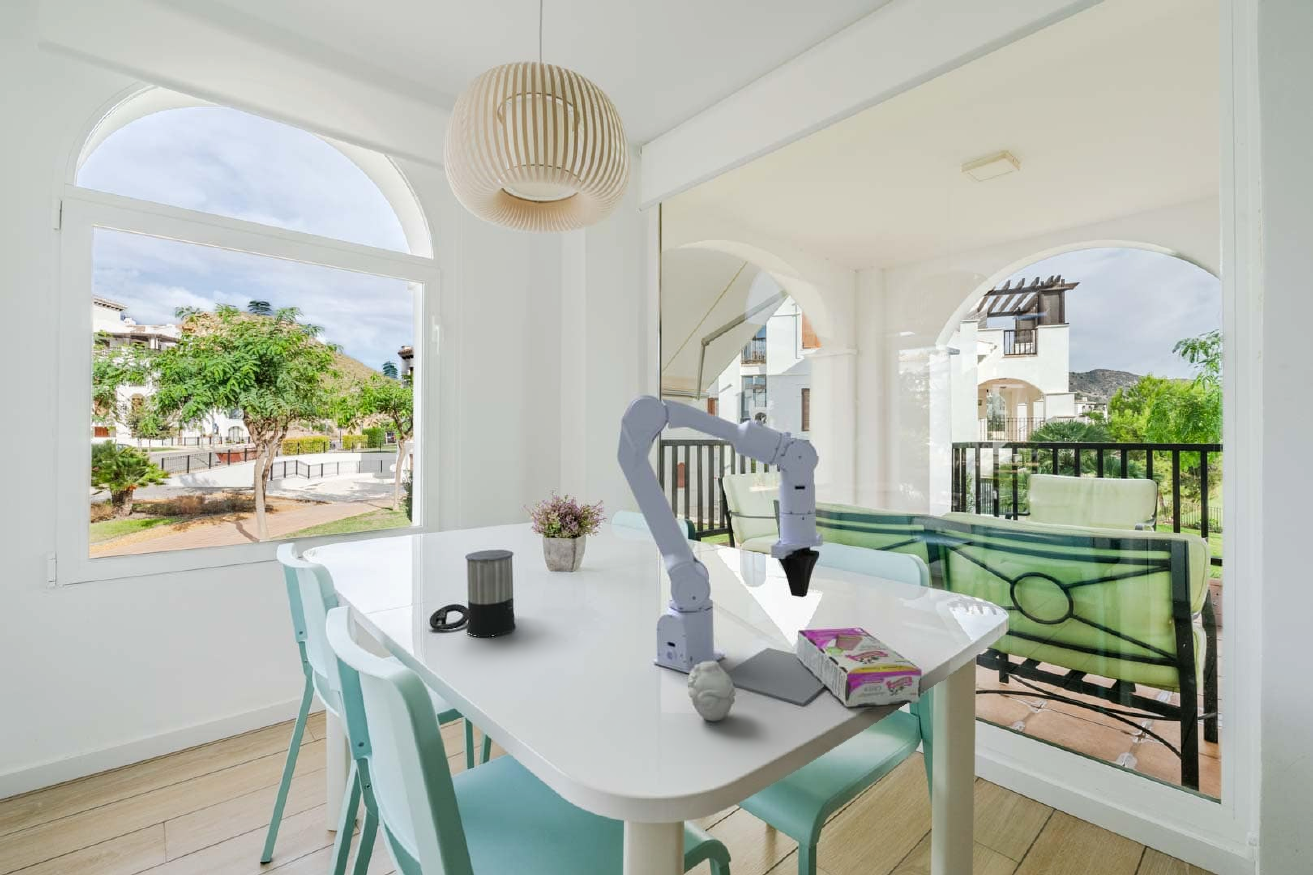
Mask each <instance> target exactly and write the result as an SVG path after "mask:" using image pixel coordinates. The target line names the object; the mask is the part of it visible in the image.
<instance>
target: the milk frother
mask: <svg viewBox="0 0 1313 875" xmlns="http://www.w3.org/2000/svg"><path fill="white" fill-rule="evenodd" d="M514 554H515V553H514V551H511V550H506V549H488V550H479V551H475V552H471V553H468V554H466V555H465V556H464V558H465V560H466V572H467V575H466V576H467V606H465V605H463V604H458V603H452V604H447V605H445V606H443V607H441V608H439V609H436V611H435V612H434V613H432V614H431V616H430V618H429V626H430V627H431V628H432V629H434V630H437V629H452V630H454V629H453V628H456V629H458V628H460V627H462V626H464V625H465V624H466V623H467V627H466V633H467V634H468V633H470V634H472V635H476V636H492V635H498V636H500V635H499V634H502V635H504V634H503V633H506V634H508V632H509V633H510V631H511V632H513V631H514V630H515V629H516V626H517V625H516V623H515V610H514V575H513V574H514V573H513V571H514V569H513V556H514ZM450 612H458V613H461V615H462V617H461V618H460V619H459V620H456V621H455V622H452V623H447V620H448V619H447V618H448V613H450ZM513 629H514V630H513ZM512 630H513V631H512ZM472 635H471V636H472ZM476 636H475V637H476ZM492 637H493V636H492Z"/></svg>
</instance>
